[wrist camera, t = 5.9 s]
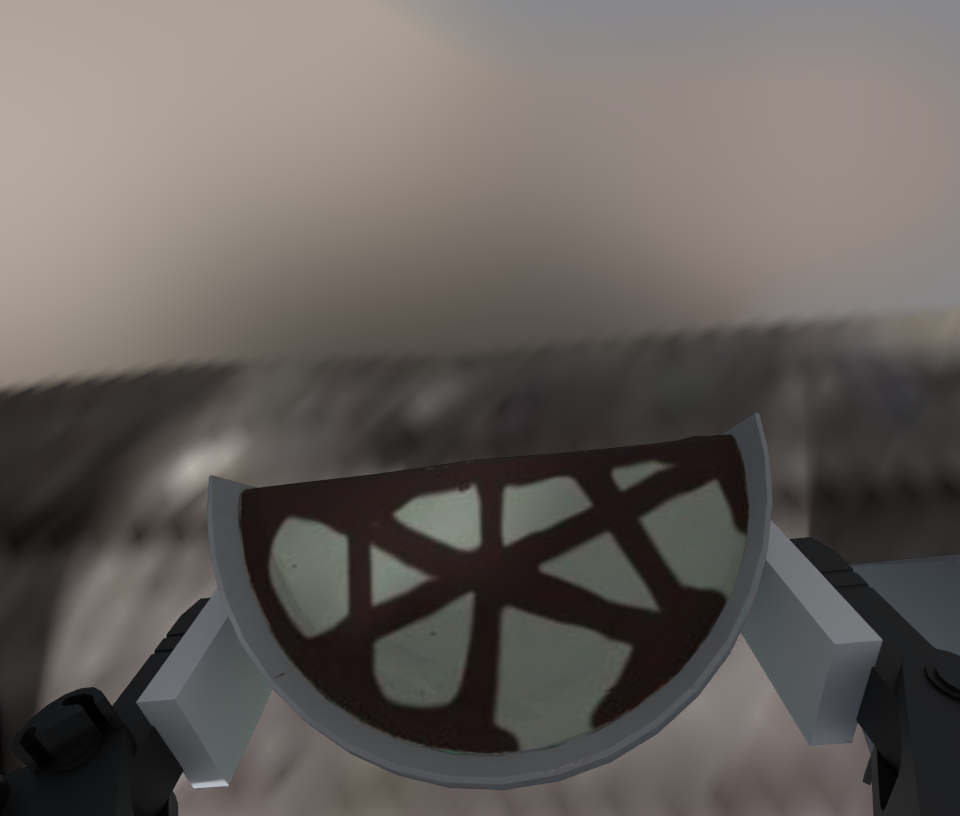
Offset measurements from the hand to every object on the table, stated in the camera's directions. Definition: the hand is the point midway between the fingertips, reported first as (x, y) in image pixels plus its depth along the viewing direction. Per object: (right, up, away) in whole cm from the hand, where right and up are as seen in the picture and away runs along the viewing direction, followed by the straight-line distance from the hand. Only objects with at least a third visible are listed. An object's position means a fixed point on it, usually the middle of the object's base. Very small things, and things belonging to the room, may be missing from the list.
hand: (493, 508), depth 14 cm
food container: (+1, -4, +3) cm, 5 cm away
